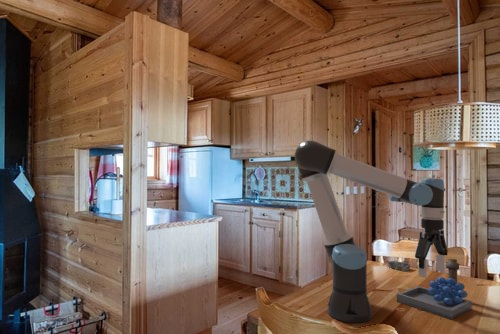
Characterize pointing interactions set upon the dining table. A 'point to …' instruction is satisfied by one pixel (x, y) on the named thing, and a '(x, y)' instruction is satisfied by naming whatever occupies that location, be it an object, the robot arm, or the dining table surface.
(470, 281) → the dining table surface
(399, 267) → the egg carton
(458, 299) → the grapes
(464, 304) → the holder tray
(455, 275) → the post
